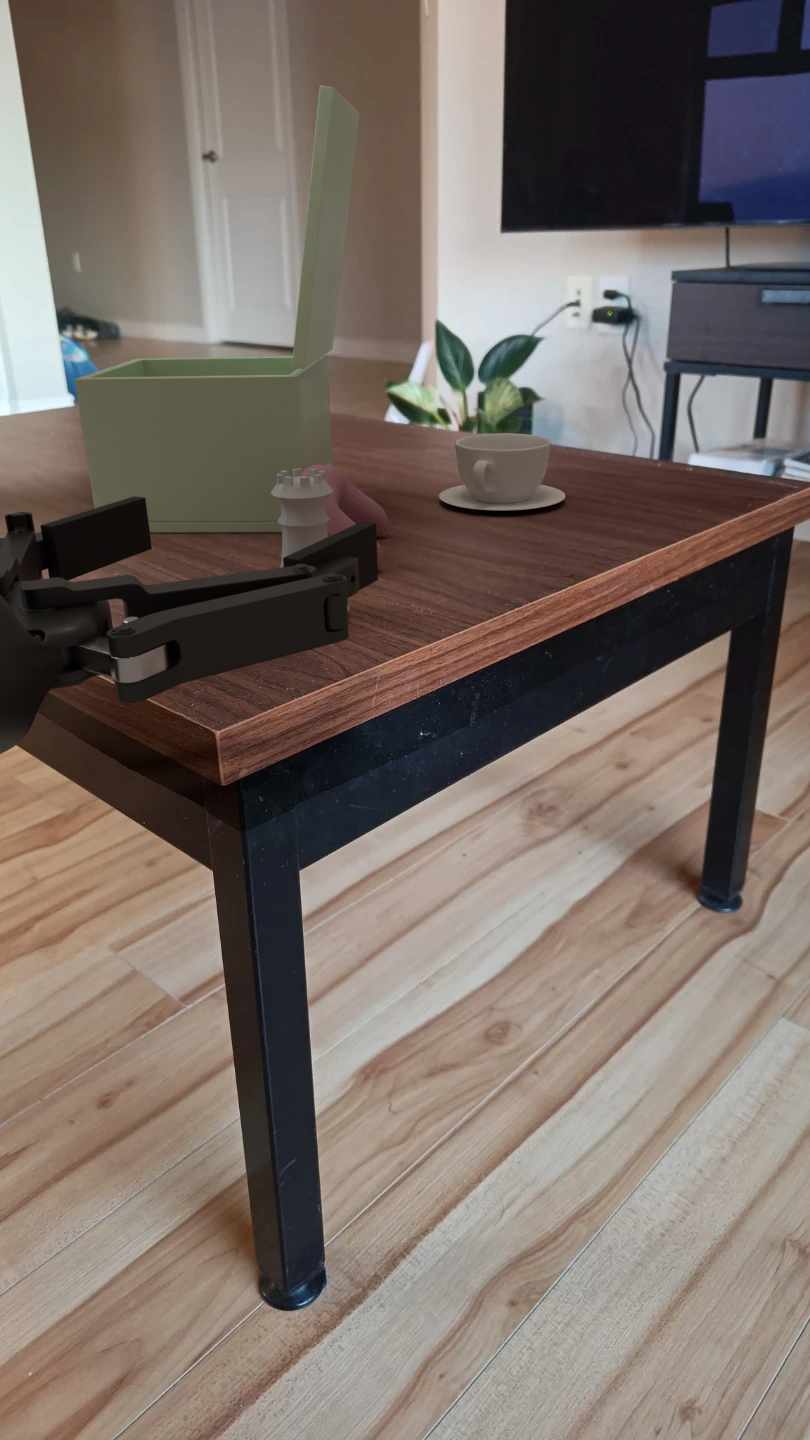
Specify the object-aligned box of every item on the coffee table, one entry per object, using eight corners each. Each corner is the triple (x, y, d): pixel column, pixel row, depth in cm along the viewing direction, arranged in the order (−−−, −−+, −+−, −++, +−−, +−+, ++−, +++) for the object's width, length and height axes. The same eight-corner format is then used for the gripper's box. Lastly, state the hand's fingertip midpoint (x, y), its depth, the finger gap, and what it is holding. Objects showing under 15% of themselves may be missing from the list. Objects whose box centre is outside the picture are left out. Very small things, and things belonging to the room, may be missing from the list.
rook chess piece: (308, 637, 54) (298, 485, 51) (253, 620, 57) (240, 475, 54) (367, 615, 57) (361, 471, 54) (311, 600, 60) (302, 461, 57)
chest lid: (319, 84, 62) (333, 87, 62) (348, 110, 75) (359, 112, 75) (291, 367, 69) (303, 369, 69) (321, 348, 82) (332, 350, 82)
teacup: (468, 484, 88) (468, 427, 86) (581, 493, 84) (584, 434, 82) (418, 510, 80) (416, 448, 78) (540, 521, 75) (542, 456, 74)
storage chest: (97, 532, 75) (74, 378, 71) (153, 491, 88) (136, 358, 83) (307, 532, 74) (298, 375, 70) (334, 491, 86) (327, 355, 82)
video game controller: (339, 555, 74) (289, 468, 72) (395, 526, 73) (346, 437, 70) (325, 598, 65) (268, 501, 63) (388, 566, 64) (333, 465, 62)
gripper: (-314, 725, 41) (73, 579, 58) (186, 880, 30) (481, 644, 47) (-379, 539, 38) (50, 442, 54) (154, 639, 27) (482, 479, 44)
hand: (250, 535), depth 51 cm, fingers open, 13 cm apart
